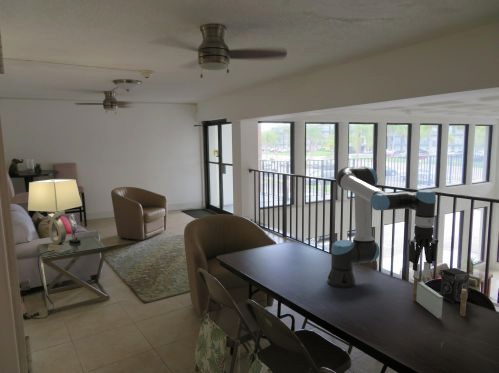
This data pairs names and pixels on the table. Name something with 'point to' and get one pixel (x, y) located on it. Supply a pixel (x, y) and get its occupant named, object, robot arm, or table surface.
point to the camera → (454, 284)
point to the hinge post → (415, 288)
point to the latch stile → (463, 302)
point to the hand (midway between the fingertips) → (421, 276)
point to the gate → (429, 299)
